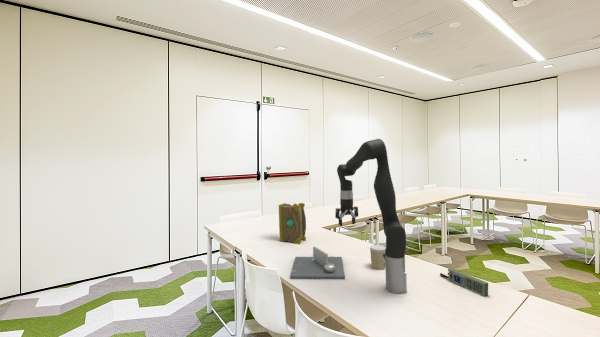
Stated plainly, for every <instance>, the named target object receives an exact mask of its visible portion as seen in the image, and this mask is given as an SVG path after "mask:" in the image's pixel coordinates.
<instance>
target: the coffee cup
mask: <svg viewBox="0 0 600 337" xmlns="http://www.w3.org/2000/svg"><path fill="white" fill-rule="evenodd" d="M385 249H386V246H385V245H382V244H372V245H371V246H370V247H369V250H370V251H369V252H370V261H371V269H374V270H379V271H380V270H381V271H383V270H386V269H385Z"/></svg>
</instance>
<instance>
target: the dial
mask: <svg viewBox="0 0 600 337" xmlns="http://www.w3.org/2000/svg"><path fill="white" fill-rule="evenodd" d="M312 257H313V259H314V260H315V261H317V262H318V263H319V264H321V265H322V266H324V268H325V271H326V272H334V271H335V264H333V263H328V257H329V256H328V253H326V252H325V251H323V250H321V249H320V248H318V247H316V246H313V247H312Z"/></svg>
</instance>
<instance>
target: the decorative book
mask: <svg viewBox="0 0 600 337" xmlns="http://www.w3.org/2000/svg"><path fill="white" fill-rule="evenodd" d="M305 204H306V203H304V202H299V203H298V204H297V203H293V204H290V203H289V204H288V203H285V202H284V203H281V204H279V205H278V219H279V220H278V227H279V228H278V229H279V242H290V243H294V244H295V243H298V244H297V245H301V244H302V242H303V241H306V240H307V237H306V230H307V218H306V212H305V208H304V207H305ZM301 240H303V241H301ZM300 243H301V244H300Z"/></svg>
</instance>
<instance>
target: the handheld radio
mask: <svg viewBox="0 0 600 337" xmlns="http://www.w3.org/2000/svg"><path fill="white" fill-rule="evenodd" d="M447 271H448V272H447V275H446V274H444V273H442V272H440V273H439V276H441V277H443V278H445V279H447V280H448V281H449V282H450V283H452V284H454V285H457V286H460V287H462V288H464V289H467V290H469V291H471V292H473V293H476V294H477V295H480V296H482V297H484V298H486V297H488V296H489V282H488V281H485V280H482V279H480V278H478V277H475V276H472V275H470V274H467V273H464V272H463V271H459V270H457V269H454V268H452V267H447Z"/></svg>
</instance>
